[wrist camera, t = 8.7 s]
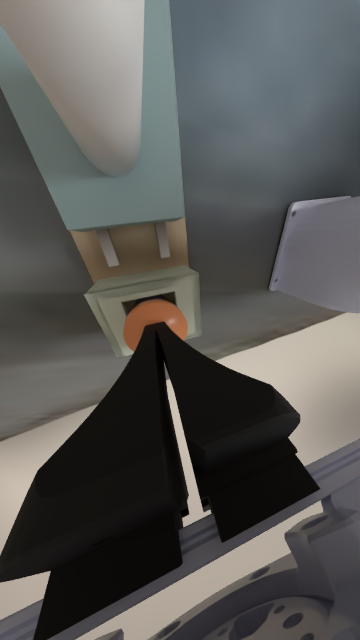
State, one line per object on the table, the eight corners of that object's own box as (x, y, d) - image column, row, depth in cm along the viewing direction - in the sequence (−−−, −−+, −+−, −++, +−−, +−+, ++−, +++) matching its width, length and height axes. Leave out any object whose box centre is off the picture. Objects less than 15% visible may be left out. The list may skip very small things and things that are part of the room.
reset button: (177, 321, 14) (189, 347, 11) (135, 331, 14) (134, 363, 10) (171, 280, 12) (184, 297, 9) (120, 290, 11) (112, 313, 8)
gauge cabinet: (186, 312, 17) (201, 335, 13) (119, 328, 16) (112, 359, 12) (181, 263, 14) (199, 273, 10) (96, 277, 13) (77, 296, 9)
